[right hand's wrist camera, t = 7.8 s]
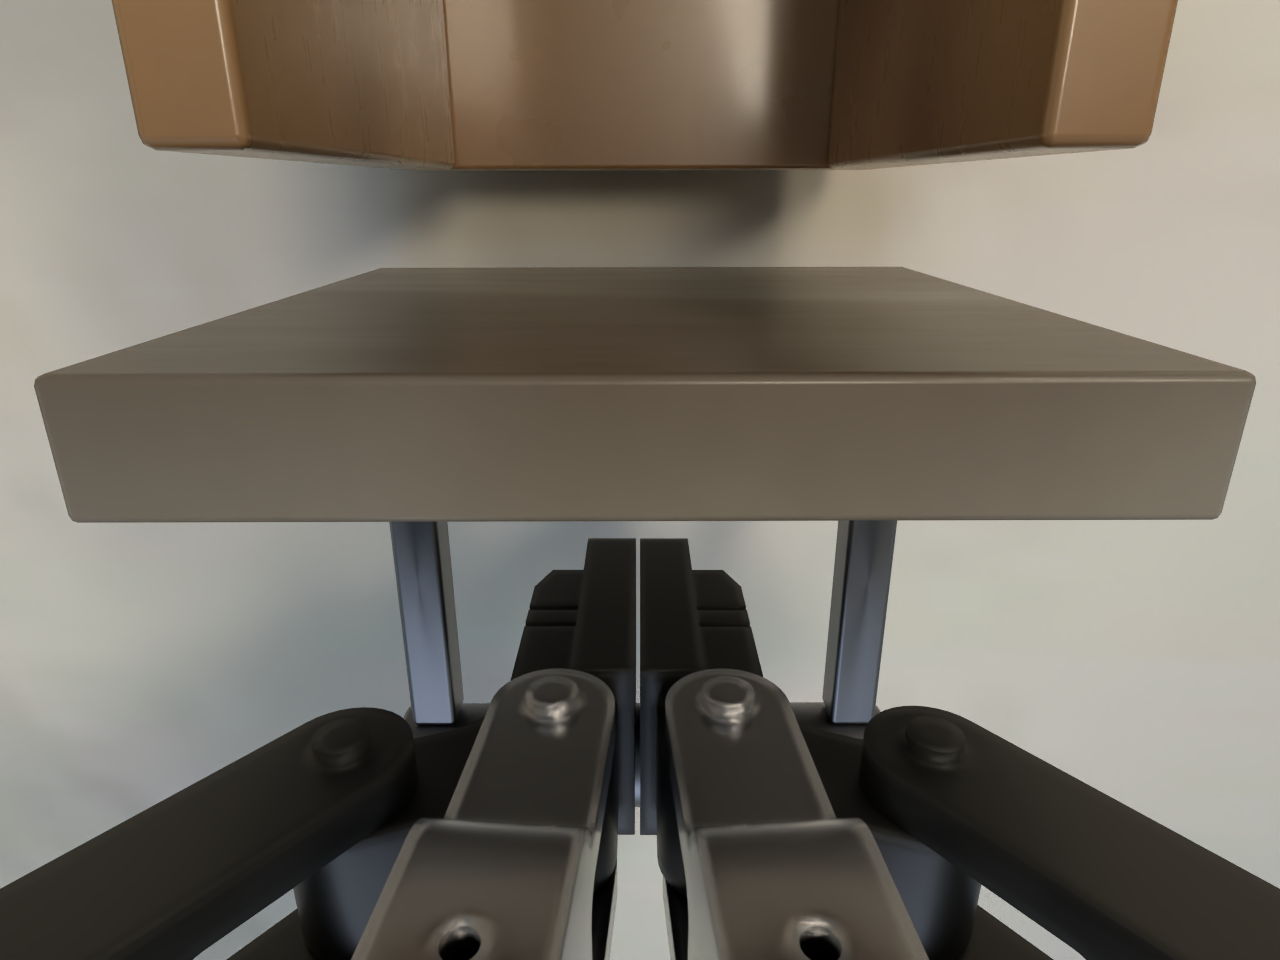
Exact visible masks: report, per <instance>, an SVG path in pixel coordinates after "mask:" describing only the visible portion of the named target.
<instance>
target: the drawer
mask: <svg viewBox="0 0 1280 960" xmlns="http://www.w3.org/2000/svg"><path fill="white" fill-rule="evenodd" d="M1177 2H1178V0H112V4H113V9H114V14H115V19H116V24H117V29H118V34H119V39H120V44H121V49H122V54H123V59H124V64H125V69H126V74H127V79H128V84H129V89H130V94H131V99H132V104H133V109H134V114H135V119H136V124H137V129H138V134H139V136H140V138H141V140H142V142H143V144H145V145H146V146H148V147H151V148H153V149H155V150H161V151H174V152H187V153H200V154H213V155H226V156H239V157H252V158H265V159H278V160H291V161H304V162H317V163H330V164H343V165H356V166H369V167H381V168H394V169H407V170H418V171H511V170H865V169H876V168H888V167H901V166H914V165H926V164H939V163H952V162H964V161H977V160H989V159H1002V158H1015V157H1027V156H1040V155H1052V154H1065V153H1078V152H1090V151H1103V150H1115V149H1128V148H1135V147H1137V146H1139V145H1142V144H1144V143H1145V142H1147V140H1148V138H1149V136H1150V134H1151V132H1152V127H1153V122H1154V117H1155V112H1156V107H1157V102H1158V97H1159V92H1160V87H1161V82H1162V77H1163V72H1164V67H1165V62H1166V57H1167V52H1168V47H1169V42H1170V37H1171V32H1172V27H1173V22H1174V17H1175V12H1176V7H1177ZM1255 385H1256V380H1255V376H1254V375H1253V374H1251V373H1249V372H1247V371H1244V370H1241V369H1238V368H1235V367H1231V366H1228V365H1225V364H1221V363H1218V362H1215V361H1211V360H1208V359H1205V358H1201V357H1198V356H1195V355H1192V354H1188V353H1185V352H1182V351H1178V350H1175V349H1172V348H1168V347H1165V346H1162V345H1158V344H1155V343H1152V342H1148V341H1145V340H1142V339H1139V338H1135V337H1132V336H1129V335H1125V334H1122V333H1119V332H1115V331H1112V330H1109V329H1105V328H1102V327H1099V326H1096V325H1092V324H1089V323H1086V322H1082V321H1079V320H1076V319H1072V318H1069V317H1066V316H1062V315H1059V314H1056V313H1053V312H1049V311H1046V310H1043V309H1039V308H1036V307H1033V306H1029V305H1026V304H1023V303H1019V302H1016V301H1013V300H1009V299H1006V298H1003V297H1000V296H996V295H993V294H990V293H986V292H983V291H980V290H976V289H973V288H970V287H966V286H963V285H960V284H957V283H953V282H950V281H947V280H943V279H940V278H937V277H933V276H930V275H927V274H923V273H920V272H917V271H914V270H910V269H907V268H904V267H644V268H380V269H377V270H373V271H370V272H367V273H364V274H361V275H357V276H354V277H351V278H348V279H345V280H342V281H338V282H335V283H332V284H329V285H326V286H322V287H319V288H316V289H313V290H310V291H307V292H303V293H300V294H297V295H294V296H291V297H287V298H284V299H281V300H278V301H275V302H272V303H268V304H265V305H262V306H259V307H256V308H252V309H249V310H246V311H243V312H240V313H236V314H233V315H230V316H227V317H224V318H221V319H217V320H214V321H211V322H208V323H205V324H201V325H198V326H195V327H192V328H189V329H186V330H182V331H179V332H176V333H173V334H170V335H166V336H163V337H160V338H157V339H154V340H150V341H147V342H144V343H141V344H138V345H135V346H131V347H128V348H125V349H122V350H119V351H115V352H112V353H109V354H106V355H103V356H100V357H96V358H93V359H90V360H87V361H84V362H80V363H77V364H74V365H71V366H68V367H64V368H61V369H58V370H55V371H52V372H49V373H45V374H43V375H41V376H39V377H37V378H36V379H35V384H34V387H35V391H36V395H37V399H38V402H39V406H40V410H41V413H42V417H43V421H44V425H45V428H46V432H47V436H48V440H49V443H50V447H51V451H52V455H53V458H54V462H55V466H56V470H57V473H58V477H59V481H60V484H61V488H62V492H63V496H64V499H65V503H66V507H67V511H68V514H69V517H70V518H71V519H72V521H75V522H390V531H391V539H392V547H393V556H394V564H395V573H396V581H397V589H398V598H399V606H400V615H401V623H402V631H403V640H404V648H405V657H406V665H407V674H408V682H409V690H410V699H411V707H410V708H409V709H408V710H407V712H406V714H405V716H404V720H406V721H407V723H408V724H409V725H410V727H411V730H412V733H413V739H414V738H418V737H423V736H428V735H432V734H437V733H441V732H446V731H450V730H454V729H457V728H460V727H463V726H465V725H468V724H470V723H472V722H475V721H477V720H479V719H480V718H482V717H484V716H485V715H486V713H487V711H488V708H489V706H490V703H475V704H462V702H463V699H464V698H463V687H462V677H461V666H460V655H459V644H458V633H457V622H456V611H455V601H454V590H453V579H452V568H451V557H450V546H449V535H448V524H447V521H809V520H839V521H838V532H837V543H836V554H835V565H834V576H833V587H832V598H831V610H830V621H829V632H828V643H827V654H826V665H825V676H824V687H823V701H824V702H816V703H790V705H791V708H792V710H793V713H794V715H795V718H796V720H797V721H799V722H801V723H803V724H805V725H808V726H811V727H813V728H816V729H820V730H823V731H827V732H831V733H836V734H840V735H845V736H850V737H854V738H859V739H863V738H864V731H865V728H866V725H867V724H868V722H869V721H870V720H871V719H872V718H873V717H874V716H875V715H877V714H878V713H880V710H879V708H878V707H877V706H876V705H875V704H876V696H877V687H878V679H879V670H880V662H881V653H882V645H883V636H884V628H885V619H886V611H887V602H888V594H889V585H890V577H891V568H892V560H893V551H894V543H895V534H896V526H897V520H1185V519H1215V518H1218V516H1219V515H1220V514H1221V512H1222V508H1223V505H1224V501H1225V497H1226V493H1227V490H1228V486H1229V482H1230V478H1231V475H1232V471H1233V467H1234V464H1235V460H1236V456H1237V452H1238V449H1239V445H1240V441H1241V437H1242V434H1243V430H1244V426H1245V422H1246V419H1247V415H1248V411H1249V407H1250V404H1251V400H1252V396H1253V392H1254V389H1255ZM635 807H640V703H636V727H635Z"/></svg>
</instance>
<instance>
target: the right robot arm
mask: <svg viewBox="0 0 1280 960" xmlns="http://www.w3.org/2000/svg"><path fill="white" fill-rule="evenodd" d="M635 727H636V538H589V539H588V544H587V551H586V558H585V565H584V570H553V571H551V572H550V573H549V574H548V575H547V576H546V577H545V578H544V579H543V580H542V581H541V582H539V583H538V584H537V585H536V586H535V588H534V592H533V596H532V600H531V604H530V610H529V611H528V615H527V619H526V626H525V627H524V631H523V635H522V638H521V642H520V646H519V650H518V654H517V658H516V662H515V666H514V670H513V673H512V677H511V681H510V682H508V683H507V684H505V685H504V686H503V687H502V688H500V689H499V691H498V692H497V693H496V694H495V695H494V697H493V699H492V701H491V703H490V706H489V708H488V711H487V713H486V715H485V716H484V717H482V718H480V719H479V720H477V721H475V722H472V723H470V724H468V725H465V726H463V727H460V728H457V729H454V730H450V731H446V732H441V733H437V734H432V735H428V736H423V737H418V738H414V739H413V733H412V730H411V727H410V725H409V724H408V723H407V721H406V720H404V719H403V718H402V717H401V716H399V715H397V714H395V713H393V712H390V711H387V710H384V709H378V708H351V709H345V710H339V711H336V712H332V713H328V714H325V715H323V716H320V717H317V718H315V719H313V720H311V721H309V722H307V723H305V724H303V725H301V726H299V727H298V728H296V729H294V730H292V731H290V732H288V733H287V734H285V735H283V736H281V737H279V738H277V739H275V740H274V741H272V742H270V743H268V744H266V745H264V746H263V747H261V748H259V749H257V750H255V751H253V752H252V753H250V754H248V755H246V756H244V757H242V758H240V759H239V760H237V761H235V762H233V763H231V764H229V765H228V766H226V767H224V768H222V769H220V770H218V771H217V772H215V773H213V774H211V775H209V776H207V777H205V778H204V779H202V780H200V781H198V782H196V783H194V784H193V785H191V786H189V787H187V788H185V789H183V790H182V791H180V792H178V793H176V794H174V795H172V796H170V797H169V798H167V799H165V800H163V801H161V802H159V803H158V804H156V805H154V806H152V807H150V808H148V809H147V810H145V811H143V812H141V813H139V814H137V815H135V816H134V817H132V818H130V819H128V820H126V821H124V822H123V823H121V824H119V825H117V826H115V827H113V828H112V829H110V830H108V831H106V832H104V833H102V834H100V835H99V836H97V837H95V838H93V839H91V840H89V841H88V842H86V843H84V844H82V845H80V846H78V847H77V848H75V849H73V850H71V851H69V852H67V853H66V854H64V855H62V856H60V857H58V858H56V859H54V860H53V861H51V862H49V863H47V864H45V865H43V866H42V867H40V868H38V869H36V870H34V871H32V872H31V873H29V874H27V875H25V876H23V877H21V878H19V879H18V880H16V881H14V882H12V883H10V884H8V885H7V886H5V887H3V888H1V889H0V960H193V959H194V958H195V957H196V956H197V955H199V954H200V953H201V952H202V951H204V950H205V949H207V948H208V947H210V946H211V945H212V944H214V943H215V942H217V941H218V940H220V939H221V938H222V937H224V936H225V935H227V934H228V933H230V932H231V931H232V930H234V929H235V928H237V927H238V926H240V925H241V924H242V923H244V922H245V921H247V920H248V919H250V918H251V917H253V916H254V915H255V914H257V913H258V912H260V911H261V910H263V909H264V908H265V907H267V906H268V905H270V904H271V903H273V902H274V901H275V900H277V899H278V898H280V897H281V896H283V895H284V894H285V893H287V892H288V891H290V890H291V889H294V894H295V899H296V904H297V909H296V910H295V911H293V912H292V913H291V914H289V915H288V916H286V917H285V918H284V919H282V920H281V921H279V922H278V923H277V924H275V925H274V926H273V927H271V928H270V929H268V930H267V931H266V932H264V933H263V934H261V935H260V936H259V937H257V938H256V939H255V940H253V941H252V942H250V943H249V944H248V945H246V946H245V947H243V948H242V949H241V950H239V951H238V952H237V953H235V954H234V955H232V956H231V957H230V958H228V959H227V960H609V958H610V950H611V942H612V933H613V925H614V917H615V909H616V900H617V838H618V835H635ZM640 835H657V856H658V864H659V867H660V870H661V872H662V874H663V900H664V908H665V916H666V924H667V933H668V941H669V949H670V957H671V960H1053V959H1052V958H1050V957H1049V956H1048V955H1046V954H1045V953H1043V952H1042V951H1041V950H1039V949H1038V948H1037V947H1035V946H1034V945H1032V944H1031V943H1030V942H1028V941H1027V940H1025V939H1024V938H1023V937H1021V936H1020V935H1019V934H1017V933H1016V932H1014V931H1013V930H1012V929H1010V928H1009V927H1007V926H1006V925H1005V924H1003V923H1002V922H1001V921H999V920H998V919H996V918H995V917H994V916H992V915H991V914H989V913H988V912H987V911H985V910H984V909H982V908H981V907H980V906H978V905H977V903H978V898H979V893H980V888H981V884H982V885H983V886H985V887H986V888H987V889H989V890H990V891H992V892H993V893H995V894H996V895H997V896H999V897H1000V898H1002V899H1003V900H1005V901H1006V902H1007V903H1009V904H1010V905H1012V906H1013V907H1015V908H1016V909H1017V910H1019V911H1020V912H1022V913H1023V914H1025V915H1026V916H1027V917H1029V918H1030V919H1032V920H1033V921H1035V922H1036V923H1037V924H1039V925H1040V926H1042V927H1043V928H1045V929H1046V930H1047V931H1049V932H1050V933H1052V934H1053V935H1055V936H1056V937H1058V938H1059V939H1060V940H1062V941H1063V942H1065V943H1066V944H1068V945H1069V946H1070V947H1072V948H1073V949H1074V950H1076V951H1077V952H1078V953H1080V954H1081V955H1082V956H1083V957H1084V958H1085V959H1086V960H1280V889H1279V888H1277V887H1275V886H1273V885H1272V884H1270V883H1268V882H1266V881H1264V880H1262V879H1261V878H1259V877H1257V876H1255V875H1253V874H1251V873H1249V872H1248V871H1246V870H1244V869H1242V868H1240V867H1238V866H1237V865H1235V864H1233V863H1231V862H1229V861H1227V860H1226V859H1224V858H1222V857H1220V856H1218V855H1216V854H1214V853H1213V852H1211V851H1209V850H1207V849H1205V848H1203V847H1202V846H1200V845H1198V844H1196V843H1194V842H1192V841H1191V840H1189V839H1187V838H1185V837H1183V836H1181V835H1179V834H1178V833H1176V832H1174V831H1172V830H1170V829H1168V828H1167V827H1165V826H1163V825H1161V824H1159V823H1157V822H1156V821H1154V820H1152V819H1150V818H1148V817H1146V816H1144V815H1143V814H1141V813H1139V812H1137V811H1135V810H1133V809H1132V808H1130V807H1128V806H1126V805H1124V804H1122V803H1121V802H1119V801H1117V800H1115V799H1113V798H1111V797H1109V796H1108V795H1106V794H1104V793H1102V792H1100V791H1098V790H1097V789H1095V788H1093V787H1091V786H1089V785H1087V784H1086V783H1084V782H1082V781H1080V780H1078V779H1076V778H1075V777H1073V776H1071V775H1069V774H1067V773H1065V772H1063V771H1062V770H1060V769H1058V768H1056V767H1054V766H1052V765H1051V764H1049V763H1047V762H1045V761H1043V760H1041V759H1040V758H1038V757H1036V756H1034V755H1032V754H1030V753H1028V752H1027V751H1025V750H1023V749H1021V748H1019V747H1017V746H1016V745H1014V744H1012V743H1010V742H1008V741H1006V740H1005V739H1003V738H1001V737H999V736H997V735H995V734H993V733H992V732H990V731H988V730H986V729H984V728H982V727H981V726H979V725H977V724H975V723H973V722H971V721H969V720H967V719H965V718H963V717H961V716H959V715H956V714H953V713H951V712H948V711H944V710H940V709H936V708H930V707H923V706H901V707H895V708H891V709H888V710H884V711H882V712H880V713H878V714H877V715H875V716H874V717H873V718H872V719H871V720H870V721H869V722H868V724H867V725H866V728H865V731H864V738H863V739H859V738H854V737H850V736H845V735H840V734H836V733H831V732H827V731H823V730H820V729H816V728H813V727H811V726H808V725H805V724H803V723H801V722H799V721H797V720H796V718H795V715H794V713H793V710H792V708H791V705H790V703H789V701H788V699H787V697H786V695H785V694H784V693H783V692H782V690H781V689H780V688H778V687H777V686H776V685H775V684H774V683H772V682H770V681H769V680H767V679H765V678H763V674H762V670H761V666H760V662H759V658H758V654H757V650H756V646H755V642H754V638H753V634H752V630H751V627H750V621H749V617H748V613H747V610H746V605H745V601H744V597H743V593H742V589H741V586H740V585H738V584H737V583H736V582H735V581H734V580H733V579H732V578H731V577H730V576H729V575H728V574H727V573H725V572H724V571H723V570H692V568H691V560H690V553H689V545H688V539H640Z"/></svg>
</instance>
